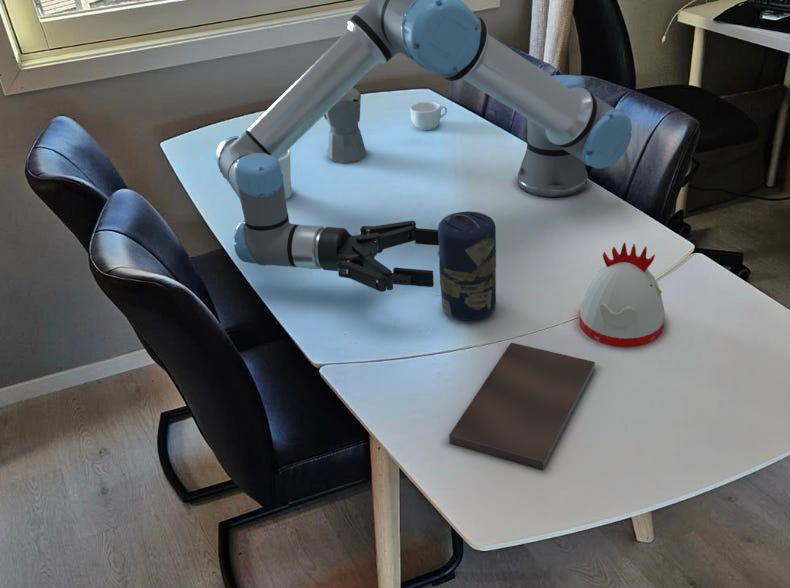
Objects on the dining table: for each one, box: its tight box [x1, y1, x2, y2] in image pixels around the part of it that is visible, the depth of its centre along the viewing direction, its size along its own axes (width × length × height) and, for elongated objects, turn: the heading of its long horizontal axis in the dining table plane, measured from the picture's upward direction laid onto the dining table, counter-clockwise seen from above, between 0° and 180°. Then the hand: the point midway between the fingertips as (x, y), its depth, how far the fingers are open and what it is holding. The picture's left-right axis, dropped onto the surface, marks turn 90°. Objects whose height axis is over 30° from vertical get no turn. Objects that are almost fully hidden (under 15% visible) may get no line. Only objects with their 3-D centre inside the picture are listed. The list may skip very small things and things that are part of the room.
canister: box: [437, 211, 497, 321], centre depth 140 cm, size 10×10×18 cm
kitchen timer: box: [578, 241, 665, 348], centre depth 136 cm, size 14×14×15 cm
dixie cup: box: [278, 148, 292, 200], centre depth 182 cm, size 8×8×10 cm
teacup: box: [409, 100, 448, 131], centre depth 213 cm, size 10×8×5 cm
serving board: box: [448, 342, 596, 471], centre depth 124 cm, size 24×14×2 cm, turn 155°
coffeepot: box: [323, 88, 368, 164], centre depth 197 cm, size 15×9×18 cm, turn 44°
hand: (442, 258), depth 141 cm, fingers open, 13 cm apart
